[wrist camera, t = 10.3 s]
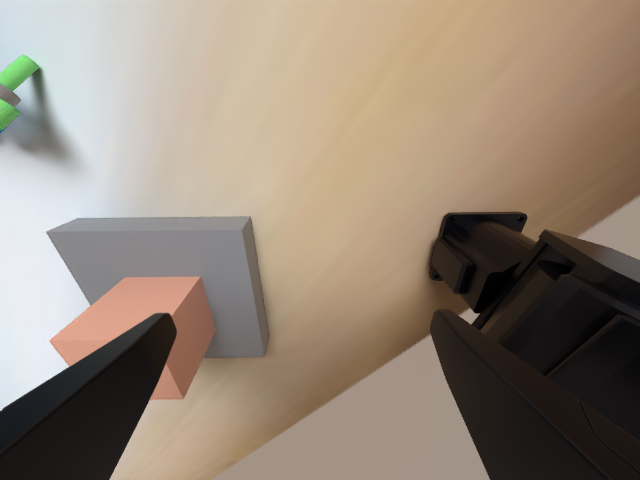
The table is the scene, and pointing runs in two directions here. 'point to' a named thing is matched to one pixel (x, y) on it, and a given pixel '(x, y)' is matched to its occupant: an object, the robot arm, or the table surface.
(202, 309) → the salmon pink cube
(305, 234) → the table surface
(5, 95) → the blue spiky toy
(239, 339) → the plinth
